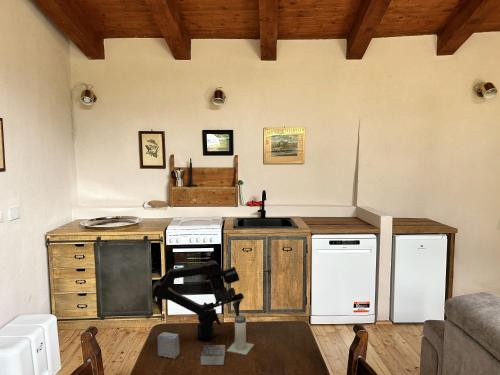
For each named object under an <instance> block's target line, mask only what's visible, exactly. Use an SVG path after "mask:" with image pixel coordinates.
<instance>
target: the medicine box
mask: <svg viewBox="0 0 500 375" xmlns="http://www.w3.org/2000/svg"><path fill="white" fill-rule="evenodd" d="M179 335H180V334H179V333H171V332H165V331H163V332H162V333H160V334H159V335H157V356H158V357H162V356H163V358H167V357H168V358H169V359H176V358H177V356H179V354H180V336H179Z"/></svg>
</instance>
